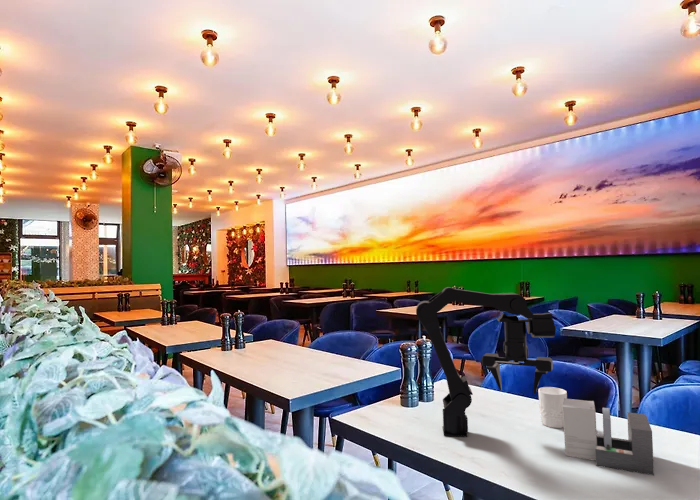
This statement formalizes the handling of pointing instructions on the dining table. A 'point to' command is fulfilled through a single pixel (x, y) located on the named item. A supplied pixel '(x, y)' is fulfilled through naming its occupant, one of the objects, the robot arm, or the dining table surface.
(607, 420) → the pad
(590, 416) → the supplement box
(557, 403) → the white cup
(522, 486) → the dining table surface
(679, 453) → the dining table surface
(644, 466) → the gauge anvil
